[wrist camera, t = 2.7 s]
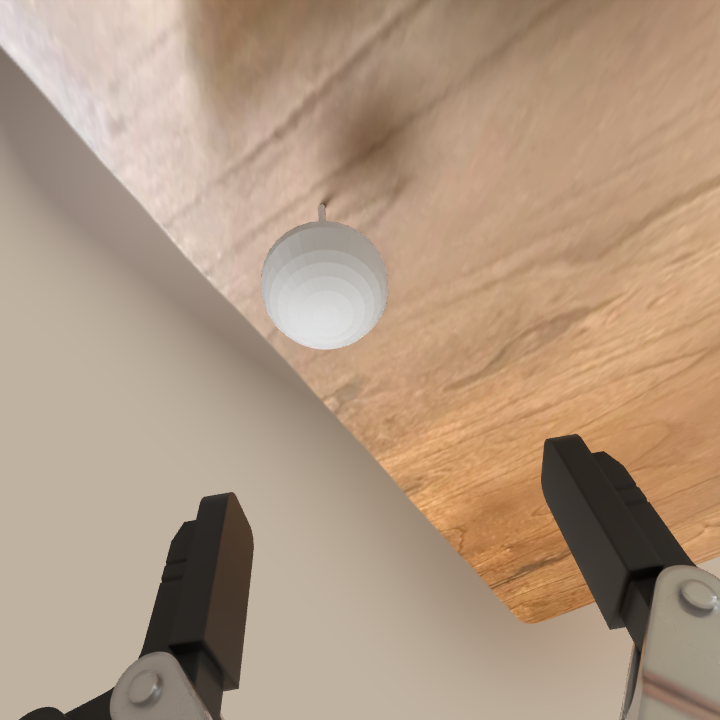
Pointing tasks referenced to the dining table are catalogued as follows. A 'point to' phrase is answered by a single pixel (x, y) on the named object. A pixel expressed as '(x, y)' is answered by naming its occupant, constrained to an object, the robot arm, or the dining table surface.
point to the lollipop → (324, 284)
